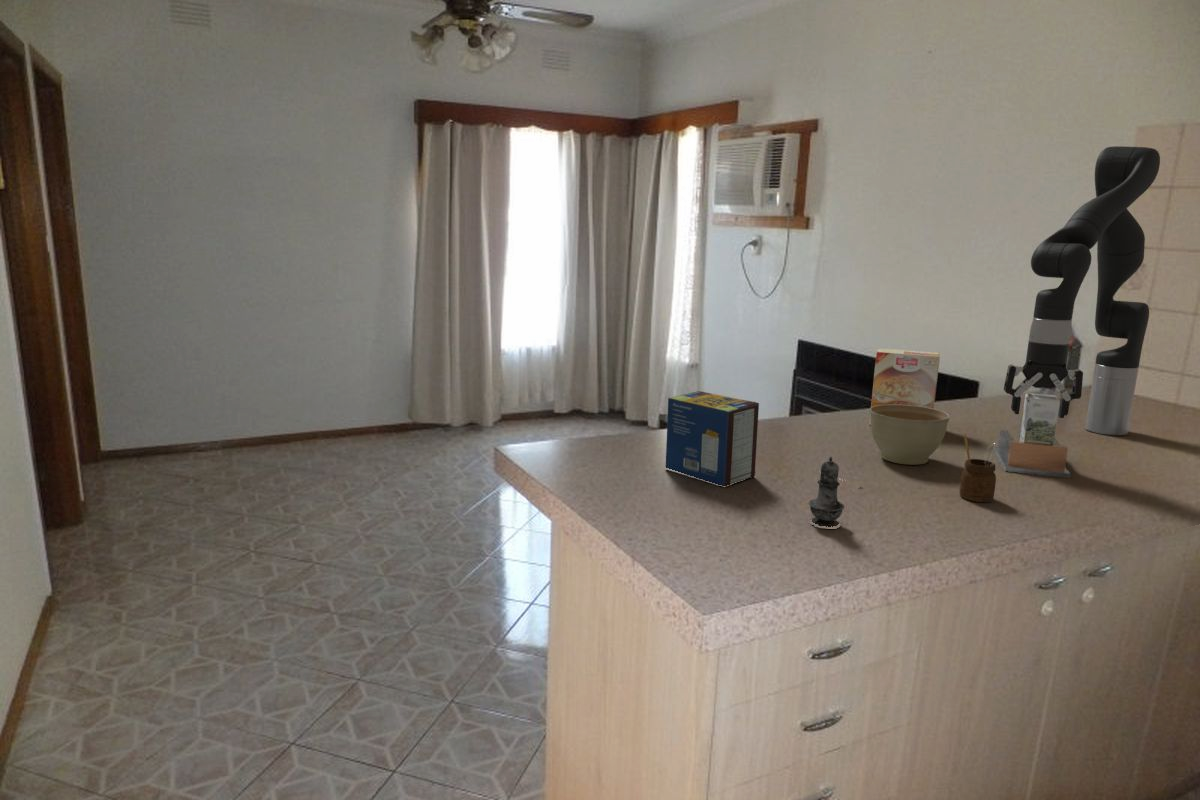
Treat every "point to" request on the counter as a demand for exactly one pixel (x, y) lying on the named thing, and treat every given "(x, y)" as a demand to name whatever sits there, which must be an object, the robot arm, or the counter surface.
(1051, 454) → the guide bracket
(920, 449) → the planter bowl
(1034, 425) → the syrup box
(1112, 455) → the counter surface
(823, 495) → the salt shaker
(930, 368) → the coffeecake box
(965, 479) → the utensil holder
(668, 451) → the protein box
